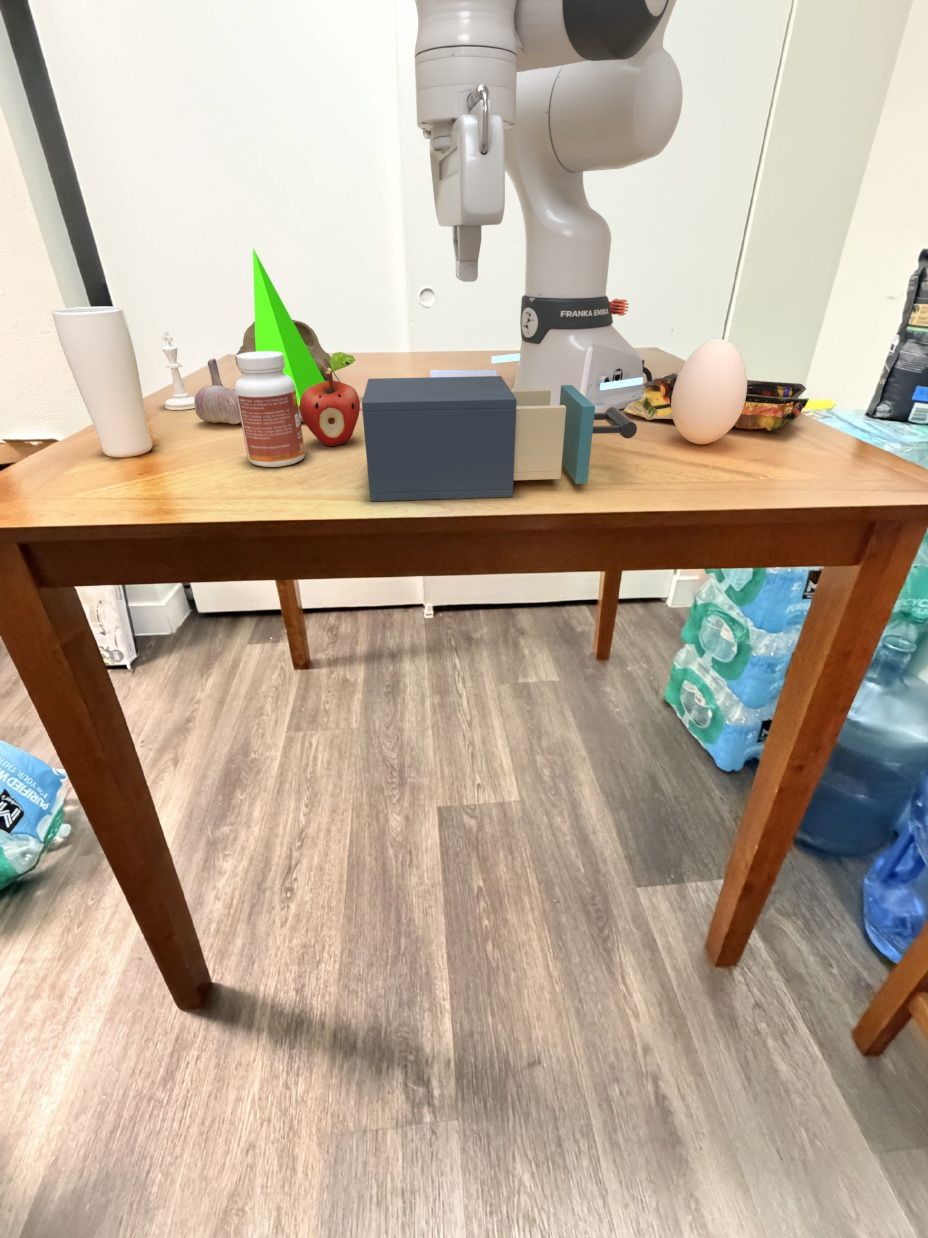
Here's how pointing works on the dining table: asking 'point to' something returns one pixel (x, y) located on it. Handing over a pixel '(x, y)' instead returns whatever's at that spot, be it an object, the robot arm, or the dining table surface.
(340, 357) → the apple
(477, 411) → the cabinet
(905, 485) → the dining table surface
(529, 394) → the drawer
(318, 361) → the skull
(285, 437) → the pill bottle
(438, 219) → the robot arm
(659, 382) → the food
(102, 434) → the drinking glass
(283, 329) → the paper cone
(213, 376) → the garlic bulb
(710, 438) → the egg
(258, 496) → the dining table surface
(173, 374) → the chess piece
